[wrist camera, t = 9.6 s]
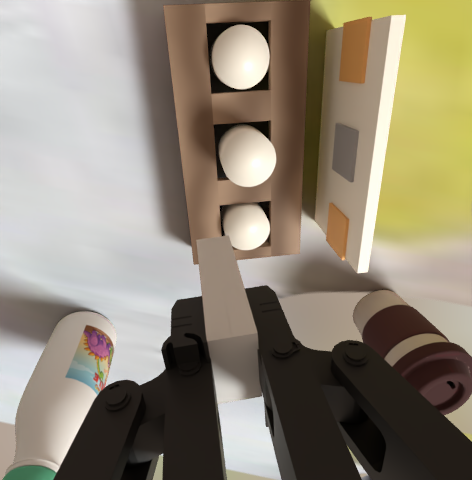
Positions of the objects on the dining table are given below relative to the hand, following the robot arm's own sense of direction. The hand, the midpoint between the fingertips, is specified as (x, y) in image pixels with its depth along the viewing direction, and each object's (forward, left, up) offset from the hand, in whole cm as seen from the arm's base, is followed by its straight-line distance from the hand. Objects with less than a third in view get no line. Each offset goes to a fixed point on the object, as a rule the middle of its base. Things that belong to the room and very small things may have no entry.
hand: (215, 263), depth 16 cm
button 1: (+4, -7, -23) cm, 24 cm away
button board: (+4, +1, -23) cm, 24 cm away
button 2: (+4, +1, -20) cm, 21 cm away
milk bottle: (-17, -22, -24) cm, 37 cm away
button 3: (+4, +9, -23) cm, 25 cm away
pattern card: (+14, +1, -23) cm, 27 cm away
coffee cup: (+23, -24, -24) cm, 41 cm away
